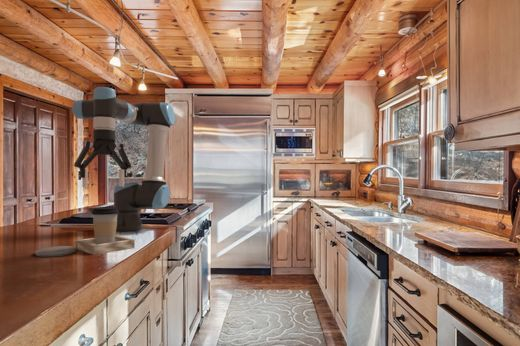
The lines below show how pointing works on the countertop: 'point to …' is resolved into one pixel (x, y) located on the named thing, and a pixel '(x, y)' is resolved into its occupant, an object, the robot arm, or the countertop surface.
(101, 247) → the frame
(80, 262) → the countertop surface
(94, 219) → the coffee cup
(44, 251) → the disc
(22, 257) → the countertop surface
